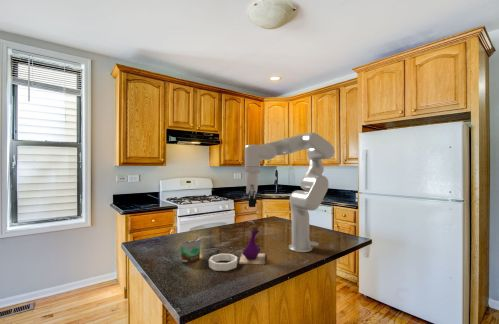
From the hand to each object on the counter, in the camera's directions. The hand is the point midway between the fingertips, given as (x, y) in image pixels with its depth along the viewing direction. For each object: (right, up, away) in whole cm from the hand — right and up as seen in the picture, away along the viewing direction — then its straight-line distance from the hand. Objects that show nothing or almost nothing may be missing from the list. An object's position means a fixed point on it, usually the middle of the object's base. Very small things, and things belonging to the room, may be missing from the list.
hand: (252, 205), depth 124 cm
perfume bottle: (-1, -26, -1) cm, 26 cm away
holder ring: (-14, -26, -7) cm, 30 cm away
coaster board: (0, -26, 0) cm, 26 cm away
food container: (-28, -27, -2) cm, 39 cm away
